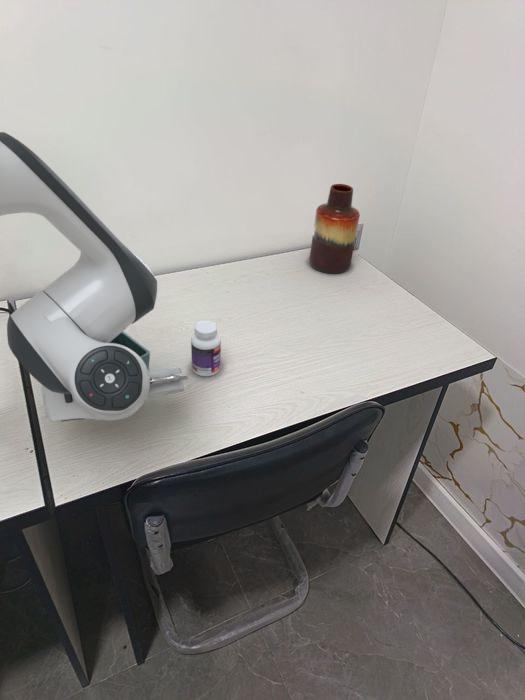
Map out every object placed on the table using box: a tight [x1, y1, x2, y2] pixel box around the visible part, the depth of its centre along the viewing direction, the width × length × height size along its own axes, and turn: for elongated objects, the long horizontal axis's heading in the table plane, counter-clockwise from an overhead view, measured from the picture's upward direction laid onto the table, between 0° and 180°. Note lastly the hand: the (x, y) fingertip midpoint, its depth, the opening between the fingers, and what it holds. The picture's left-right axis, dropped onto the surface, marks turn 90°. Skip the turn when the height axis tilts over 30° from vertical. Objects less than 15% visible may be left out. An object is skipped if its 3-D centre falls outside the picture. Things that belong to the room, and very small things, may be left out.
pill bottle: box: [190, 319, 222, 377], centre depth 91 cm, size 5×5×10 cm
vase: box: [308, 183, 361, 275], centre depth 124 cm, size 11×11×20 cm
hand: (117, 392), depth 80 cm, fingers closed
